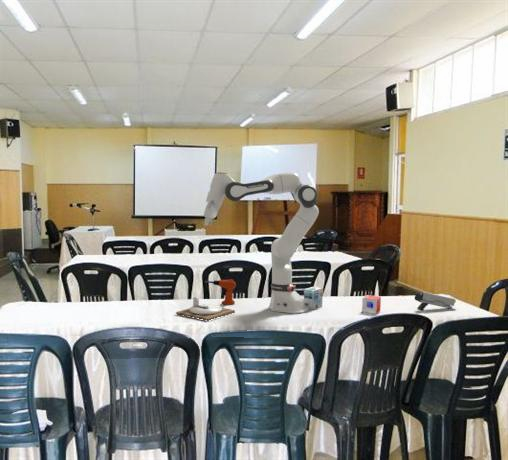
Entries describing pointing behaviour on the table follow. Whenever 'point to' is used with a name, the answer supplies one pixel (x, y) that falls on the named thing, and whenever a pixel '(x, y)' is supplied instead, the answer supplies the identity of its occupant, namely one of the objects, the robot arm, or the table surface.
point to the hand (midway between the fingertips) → (207, 225)
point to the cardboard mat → (206, 317)
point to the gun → (433, 300)
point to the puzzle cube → (371, 304)
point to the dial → (204, 308)
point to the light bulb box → (313, 297)
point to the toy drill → (226, 290)
